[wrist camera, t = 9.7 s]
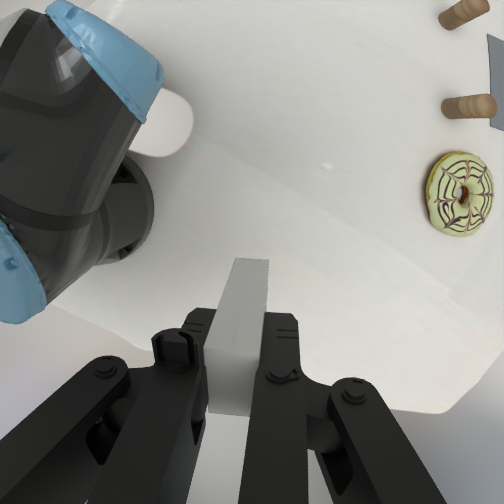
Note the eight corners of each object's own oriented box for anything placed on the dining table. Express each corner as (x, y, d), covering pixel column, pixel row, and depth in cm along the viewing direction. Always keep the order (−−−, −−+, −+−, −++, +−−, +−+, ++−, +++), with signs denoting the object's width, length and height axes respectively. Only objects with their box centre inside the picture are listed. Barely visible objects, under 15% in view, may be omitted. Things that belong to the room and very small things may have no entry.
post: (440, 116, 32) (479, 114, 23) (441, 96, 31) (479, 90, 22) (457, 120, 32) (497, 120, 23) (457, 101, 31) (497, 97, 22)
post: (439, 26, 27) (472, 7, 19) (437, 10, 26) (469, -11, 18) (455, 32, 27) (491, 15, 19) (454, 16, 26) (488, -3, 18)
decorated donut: (420, 234, 38) (432, 244, 34) (417, 152, 34) (430, 154, 31) (482, 227, 36) (496, 235, 33) (481, 150, 33) (497, 153, 29)
